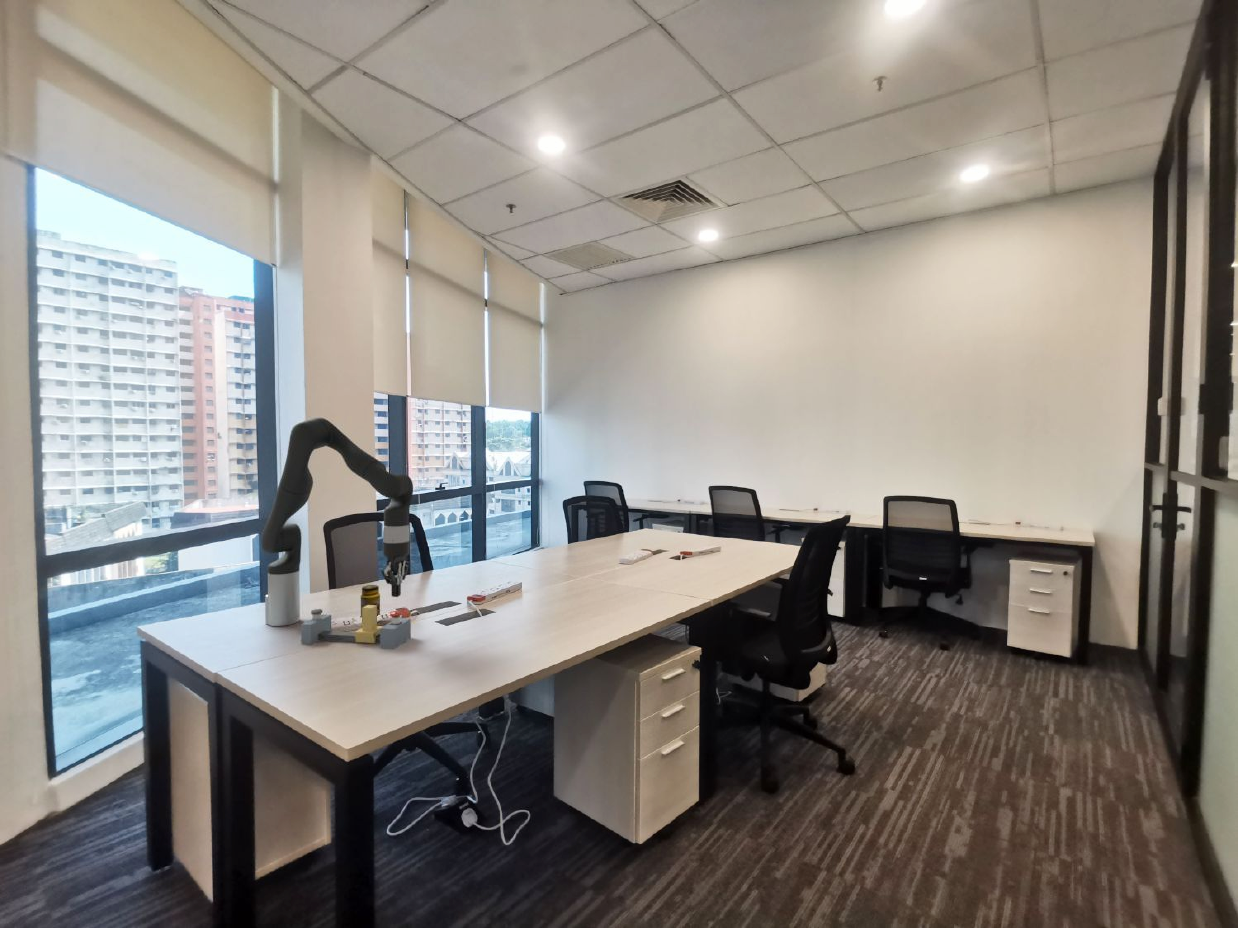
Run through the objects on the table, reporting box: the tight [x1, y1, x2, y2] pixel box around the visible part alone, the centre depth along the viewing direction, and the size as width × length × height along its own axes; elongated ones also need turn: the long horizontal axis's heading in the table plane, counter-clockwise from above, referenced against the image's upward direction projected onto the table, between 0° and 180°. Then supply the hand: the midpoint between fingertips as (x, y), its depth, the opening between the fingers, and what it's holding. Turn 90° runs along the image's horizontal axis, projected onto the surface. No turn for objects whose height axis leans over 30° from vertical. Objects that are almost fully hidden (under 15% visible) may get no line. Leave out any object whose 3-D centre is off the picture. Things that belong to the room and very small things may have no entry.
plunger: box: [389, 610, 402, 625], centre depth 171 cm, size 3×3×6 cm
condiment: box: [360, 584, 381, 618], centre depth 191 cm, size 7×8×12 cm
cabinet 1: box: [300, 608, 332, 645], centre depth 174 cm, size 3×10×9 cm, turn 173°
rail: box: [318, 630, 380, 645], centre depth 172 cm, size 22×3×2 cm, turn 83°
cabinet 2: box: [379, 617, 412, 650], centre depth 171 cm, size 4×10×6 cm, turn 173°
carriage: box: [354, 605, 383, 644], centre depth 172 cm, size 6×6×10 cm
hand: (396, 596), depth 171 cm, fingers closed
